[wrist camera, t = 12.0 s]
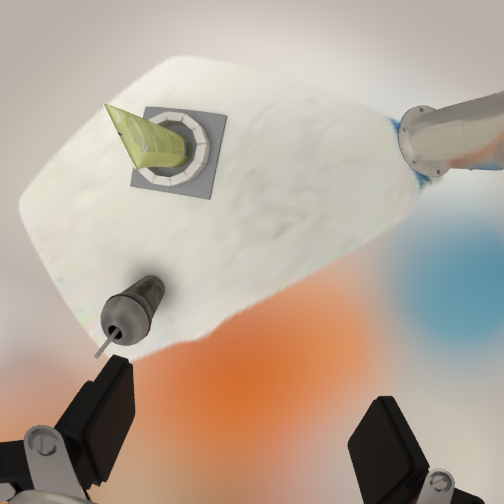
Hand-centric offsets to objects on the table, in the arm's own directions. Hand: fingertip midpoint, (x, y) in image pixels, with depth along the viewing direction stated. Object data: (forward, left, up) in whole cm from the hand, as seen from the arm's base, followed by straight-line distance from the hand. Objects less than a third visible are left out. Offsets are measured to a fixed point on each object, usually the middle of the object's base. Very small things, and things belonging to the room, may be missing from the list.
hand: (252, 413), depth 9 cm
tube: (+14, -10, -36) cm, 39 cm away
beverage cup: (+15, +13, -36) cm, 42 cm away
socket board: (+14, -10, -36) cm, 40 cm away
